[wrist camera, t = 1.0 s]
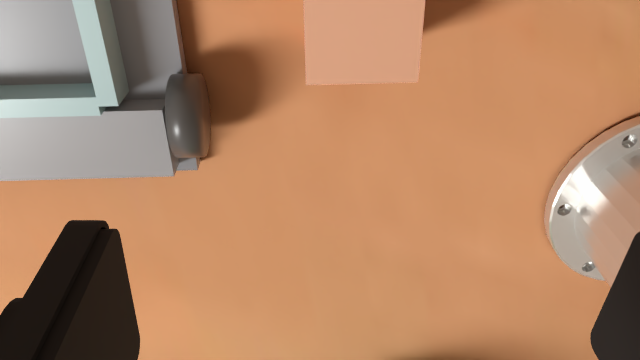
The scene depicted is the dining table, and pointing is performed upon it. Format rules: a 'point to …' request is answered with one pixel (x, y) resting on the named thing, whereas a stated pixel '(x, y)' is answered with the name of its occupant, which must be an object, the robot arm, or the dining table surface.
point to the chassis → (97, 91)
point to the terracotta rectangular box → (362, 41)
